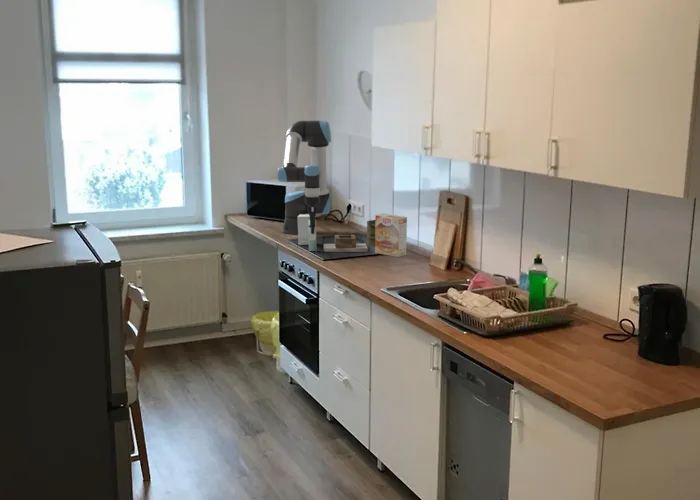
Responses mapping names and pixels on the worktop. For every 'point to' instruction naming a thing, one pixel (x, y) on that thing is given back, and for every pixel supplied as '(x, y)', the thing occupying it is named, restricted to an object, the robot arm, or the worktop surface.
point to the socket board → (358, 248)
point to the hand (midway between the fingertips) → (312, 237)
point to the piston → (371, 232)
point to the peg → (312, 242)
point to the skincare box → (303, 229)
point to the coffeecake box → (390, 235)
